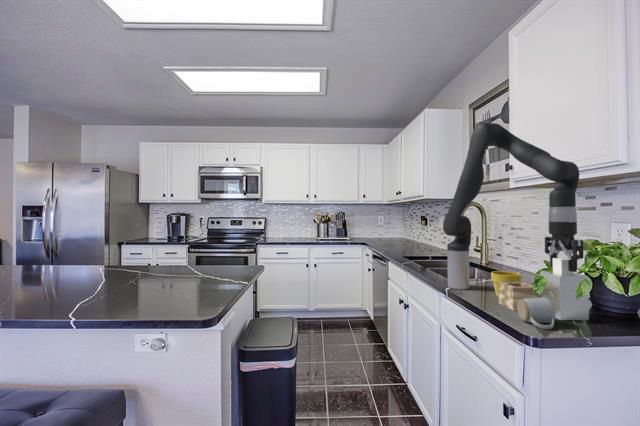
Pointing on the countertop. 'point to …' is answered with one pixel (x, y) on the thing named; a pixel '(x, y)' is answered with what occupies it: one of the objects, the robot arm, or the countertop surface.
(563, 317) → the tall grey box
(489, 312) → the countertop surface
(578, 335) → the countertop surface
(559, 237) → the robot arm
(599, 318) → the countertop surface
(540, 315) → the ceramic mug
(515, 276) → the plant pot
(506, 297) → the wooden box
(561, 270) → the plug
